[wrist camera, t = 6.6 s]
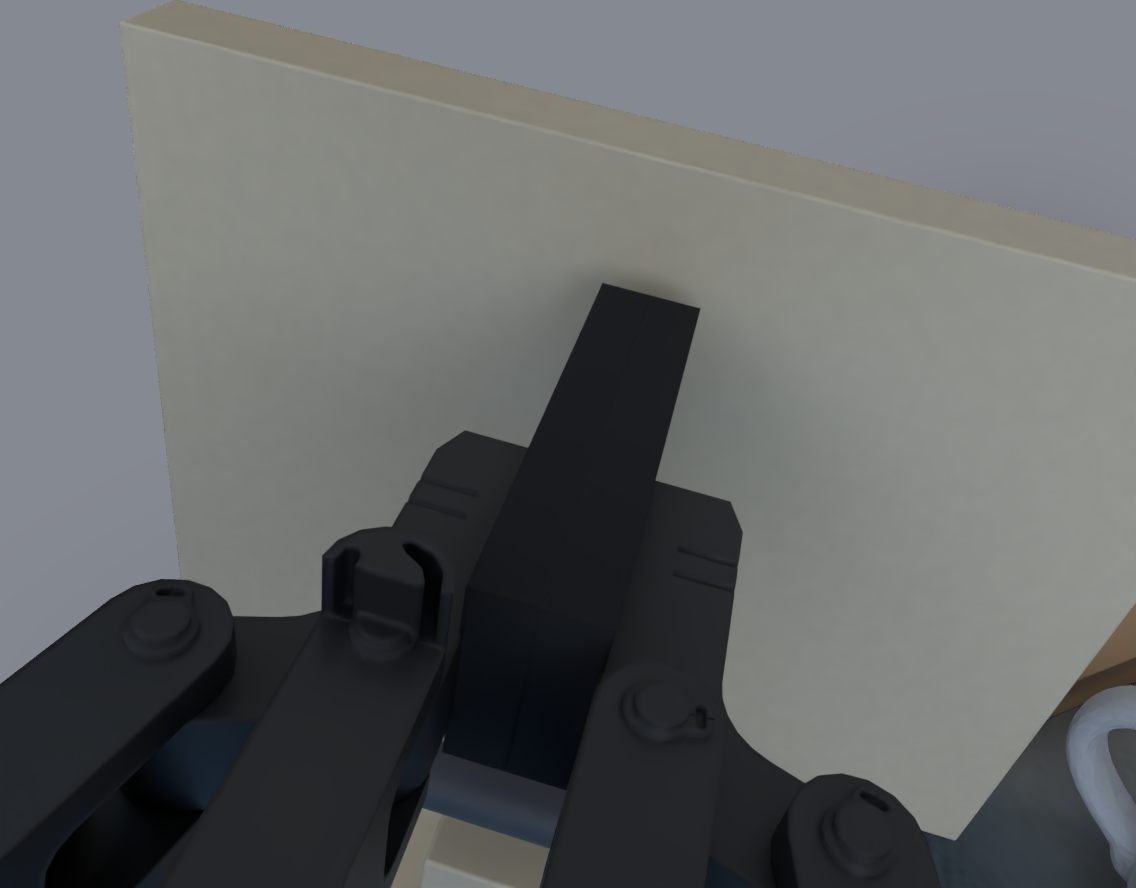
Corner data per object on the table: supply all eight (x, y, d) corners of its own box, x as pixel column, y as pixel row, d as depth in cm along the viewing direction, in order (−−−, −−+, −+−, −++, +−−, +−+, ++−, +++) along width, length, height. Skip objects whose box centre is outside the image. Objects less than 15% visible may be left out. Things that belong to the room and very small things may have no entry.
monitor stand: (695, 1190, 23) (828, 1016, 17) (212, 1023, 24) (182, 805, 18) (737, 814, 31) (838, 607, 25) (373, 701, 32) (388, 477, 26)
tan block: (1150, 676, 38) (1207, 606, 36) (968, 752, 34) (1020, 678, 32) (938, 480, 46) (974, 412, 44) (769, 521, 42) (798, 448, 40)
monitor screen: (974, 1059, 18) (1514, 544, 10) (61, 760, 19) (-108, 109, 11) (950, 773, 23) (1298, 274, 15) (221, 554, 24) (181, -4, 16)
